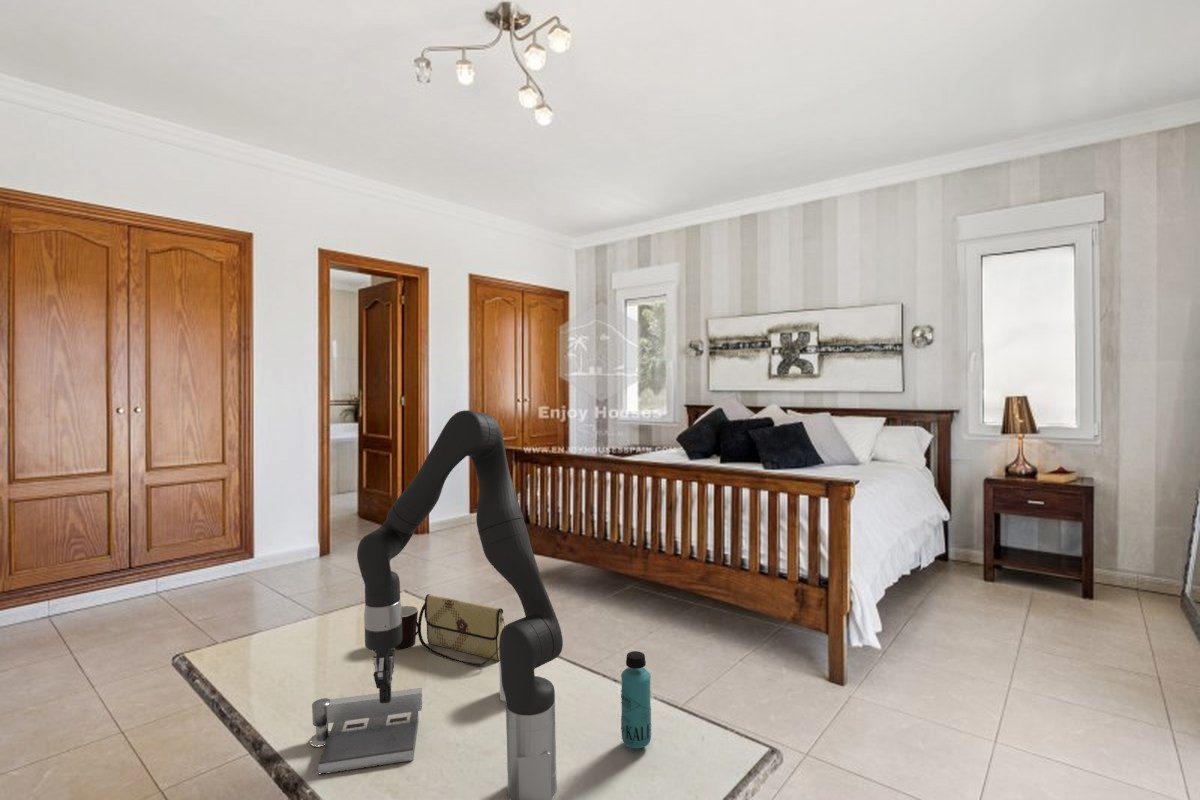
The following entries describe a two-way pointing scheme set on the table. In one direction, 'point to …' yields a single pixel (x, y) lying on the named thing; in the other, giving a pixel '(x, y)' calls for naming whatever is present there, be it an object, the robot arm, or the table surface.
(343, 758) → the panel
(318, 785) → the table surface
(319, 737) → the pivot post
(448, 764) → the table surface
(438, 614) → the clutch purse
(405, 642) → the coffee mug
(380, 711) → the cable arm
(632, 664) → the beverage bottle
